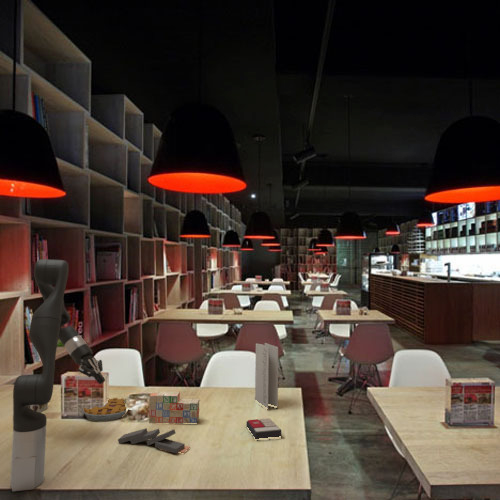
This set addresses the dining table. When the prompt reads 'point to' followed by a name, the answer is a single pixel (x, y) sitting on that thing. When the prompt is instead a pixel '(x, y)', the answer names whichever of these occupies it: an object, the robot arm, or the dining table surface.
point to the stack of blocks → (172, 408)
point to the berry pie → (107, 411)
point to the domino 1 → (132, 435)
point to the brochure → (266, 374)
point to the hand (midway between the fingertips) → (102, 382)
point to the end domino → (184, 449)
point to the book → (263, 428)
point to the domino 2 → (146, 436)
